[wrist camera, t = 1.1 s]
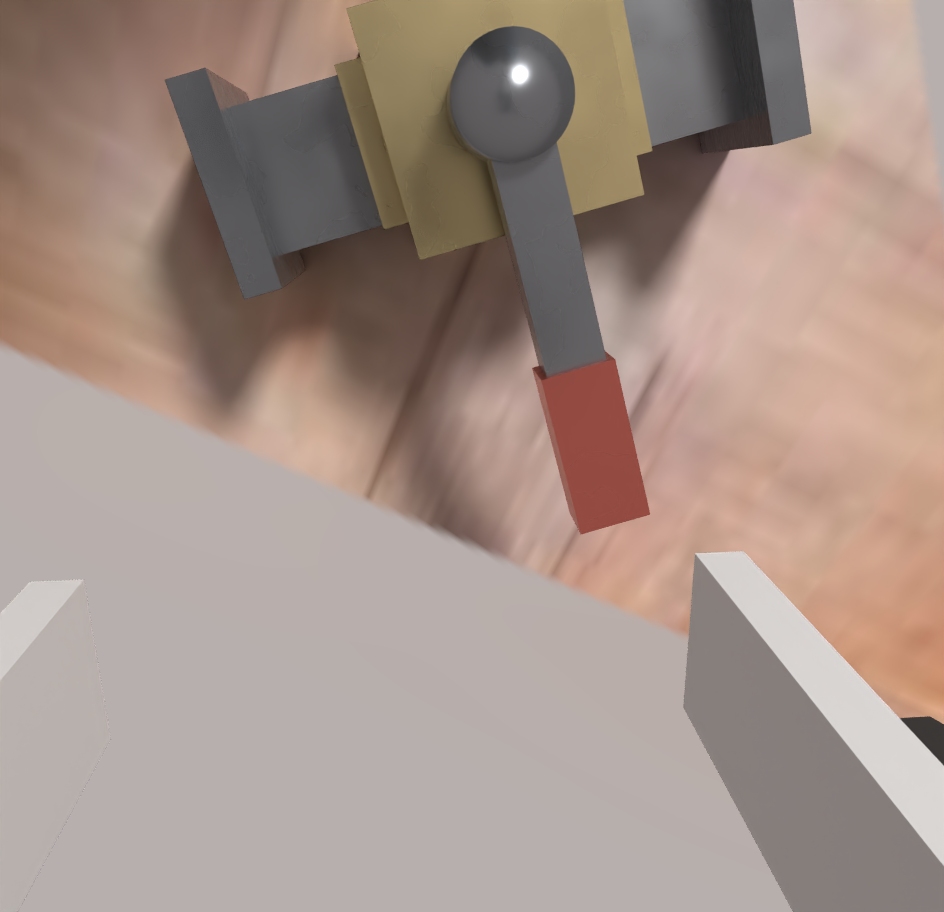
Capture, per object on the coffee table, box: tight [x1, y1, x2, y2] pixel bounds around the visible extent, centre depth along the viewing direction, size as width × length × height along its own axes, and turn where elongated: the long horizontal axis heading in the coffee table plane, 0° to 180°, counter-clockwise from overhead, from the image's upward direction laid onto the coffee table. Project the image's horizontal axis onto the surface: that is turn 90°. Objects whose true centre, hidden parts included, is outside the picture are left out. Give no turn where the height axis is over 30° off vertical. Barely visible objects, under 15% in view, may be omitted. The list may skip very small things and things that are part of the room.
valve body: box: [165, 0, 811, 299], centre depth 27 cm, size 7×18×7 cm, turn 106°
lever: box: [447, 26, 650, 534], centre depth 24 cm, size 14×3×2 cm, turn 16°
